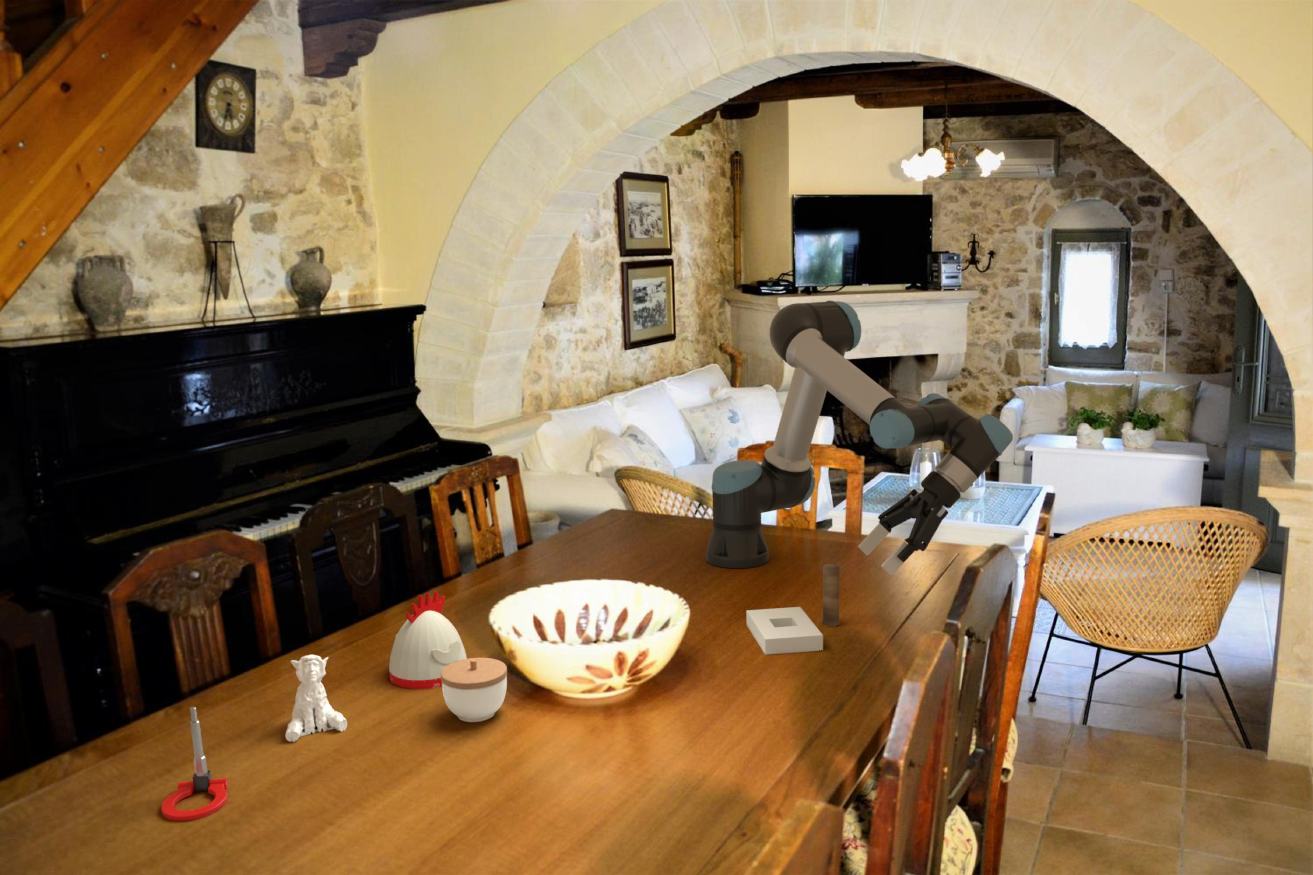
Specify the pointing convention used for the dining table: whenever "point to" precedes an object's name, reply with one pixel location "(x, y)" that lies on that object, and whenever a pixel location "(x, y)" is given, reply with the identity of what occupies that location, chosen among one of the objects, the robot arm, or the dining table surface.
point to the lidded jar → (474, 688)
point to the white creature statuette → (312, 701)
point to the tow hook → (196, 783)
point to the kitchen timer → (424, 646)
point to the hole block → (784, 630)
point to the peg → (831, 595)
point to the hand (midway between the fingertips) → (873, 560)
